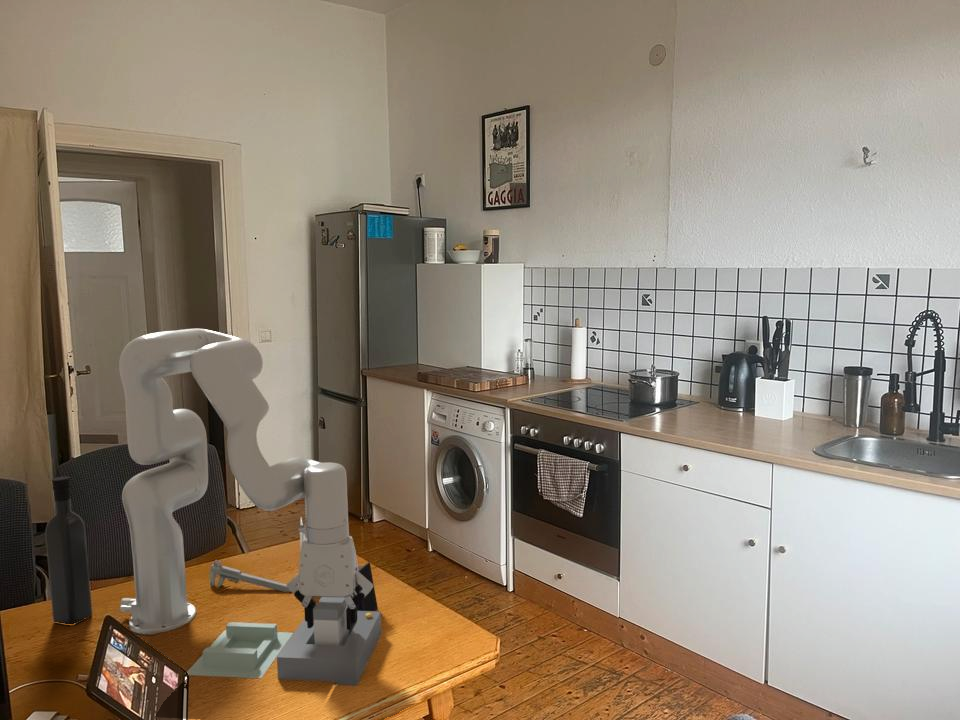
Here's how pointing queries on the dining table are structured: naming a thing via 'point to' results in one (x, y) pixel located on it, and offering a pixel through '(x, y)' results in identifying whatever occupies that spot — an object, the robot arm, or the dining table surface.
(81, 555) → the wine bottle
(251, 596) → the dining table surface
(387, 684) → the dining table surface
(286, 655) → the block
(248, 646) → the pale green cradle tray
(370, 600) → the speaker
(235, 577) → the caliper
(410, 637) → the dining table surface
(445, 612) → the dining table surface
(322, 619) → the plug
